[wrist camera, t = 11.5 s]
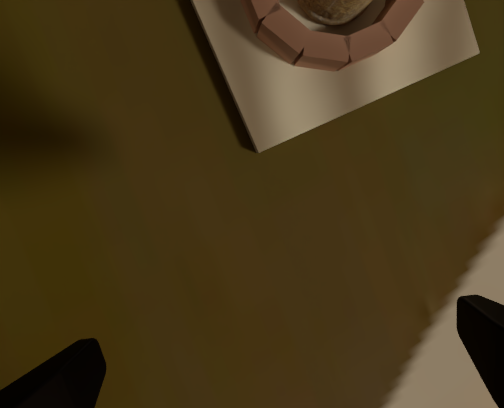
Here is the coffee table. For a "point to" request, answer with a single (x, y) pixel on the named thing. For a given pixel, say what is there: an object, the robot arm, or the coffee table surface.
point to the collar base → (321, 92)
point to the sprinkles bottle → (334, 10)
